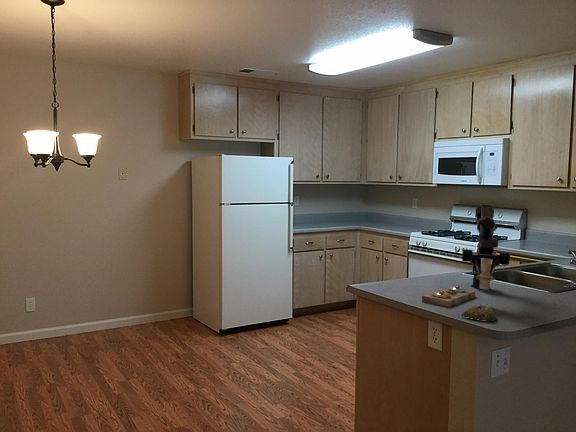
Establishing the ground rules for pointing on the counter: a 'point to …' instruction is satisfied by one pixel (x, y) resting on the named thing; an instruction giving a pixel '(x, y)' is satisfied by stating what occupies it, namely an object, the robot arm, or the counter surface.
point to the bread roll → (480, 313)
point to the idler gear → (485, 274)
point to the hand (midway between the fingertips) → (485, 273)
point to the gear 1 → (441, 294)
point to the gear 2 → (457, 289)
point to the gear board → (447, 302)
